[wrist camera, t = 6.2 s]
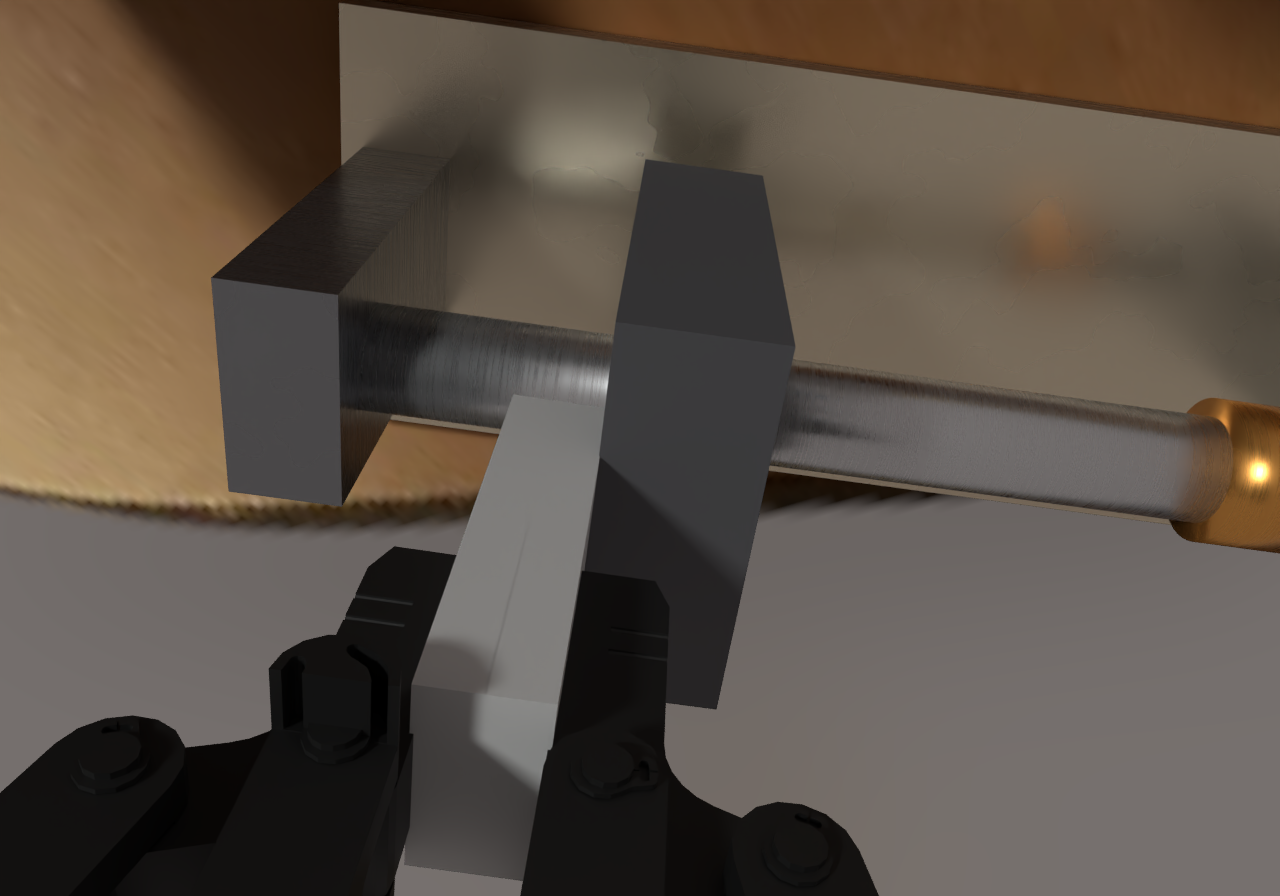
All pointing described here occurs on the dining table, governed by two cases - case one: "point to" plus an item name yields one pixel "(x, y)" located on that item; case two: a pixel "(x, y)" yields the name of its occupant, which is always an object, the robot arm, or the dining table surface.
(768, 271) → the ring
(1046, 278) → the rail
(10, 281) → the dining table surface
